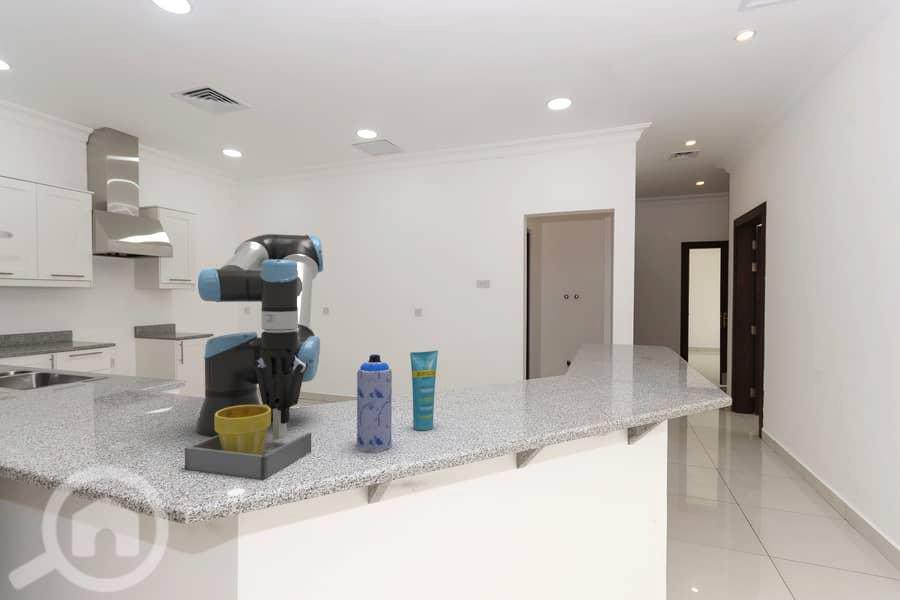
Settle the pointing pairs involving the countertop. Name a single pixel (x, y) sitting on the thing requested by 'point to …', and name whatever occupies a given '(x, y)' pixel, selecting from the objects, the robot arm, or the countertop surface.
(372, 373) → the aerosol can
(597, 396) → the countertop surface
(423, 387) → the tube
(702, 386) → the countertop surface
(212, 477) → the countertop surface
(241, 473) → the frame
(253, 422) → the plant pot
